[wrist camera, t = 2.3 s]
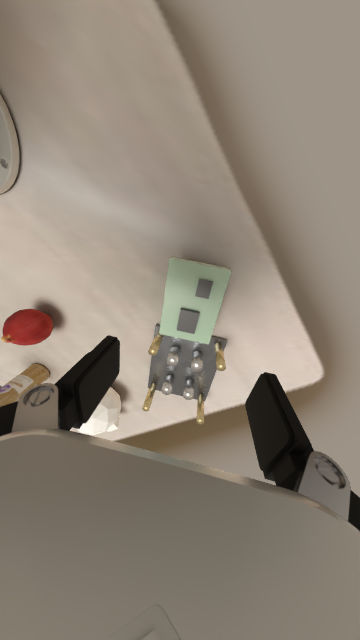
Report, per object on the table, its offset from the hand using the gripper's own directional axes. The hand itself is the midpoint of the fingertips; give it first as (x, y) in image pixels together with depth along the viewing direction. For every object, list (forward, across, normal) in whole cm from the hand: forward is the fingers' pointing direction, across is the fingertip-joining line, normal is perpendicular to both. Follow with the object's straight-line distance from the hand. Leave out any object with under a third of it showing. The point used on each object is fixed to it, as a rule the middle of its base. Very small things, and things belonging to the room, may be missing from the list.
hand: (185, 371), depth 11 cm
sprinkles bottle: (+16, +31, +25) cm, 42 cm away
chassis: (+16, 0, +14) cm, 21 cm away
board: (+13, +1, 0) cm, 13 cm away
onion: (+16, +26, +10) cm, 32 cm away
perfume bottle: (+16, +15, +28) cm, 35 cm away
